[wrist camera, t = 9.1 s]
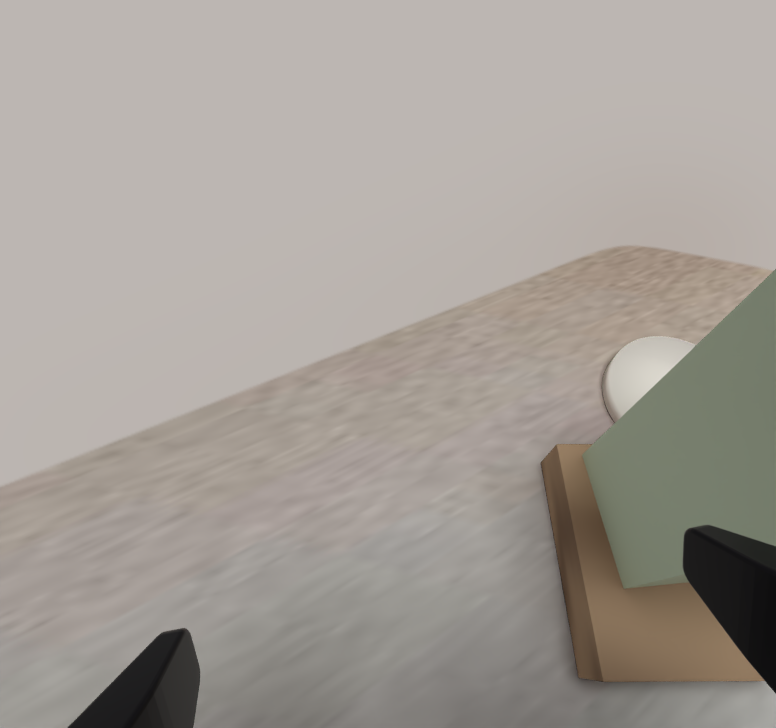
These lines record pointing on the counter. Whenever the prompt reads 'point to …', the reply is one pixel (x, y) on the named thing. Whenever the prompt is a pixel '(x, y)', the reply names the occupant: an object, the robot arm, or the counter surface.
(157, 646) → the robot arm
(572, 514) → the podium
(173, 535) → the counter surface
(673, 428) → the carton
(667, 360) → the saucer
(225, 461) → the counter surface
